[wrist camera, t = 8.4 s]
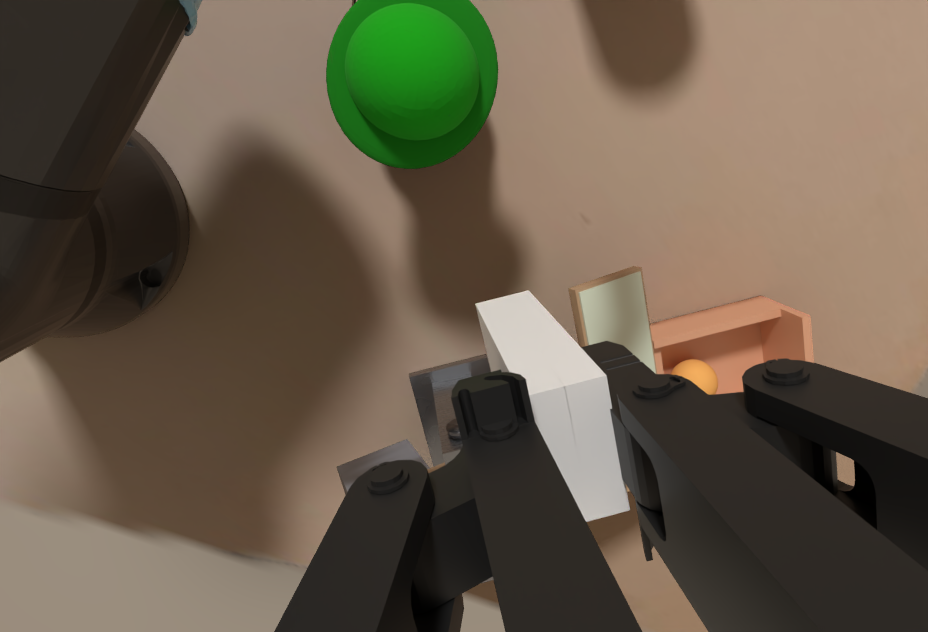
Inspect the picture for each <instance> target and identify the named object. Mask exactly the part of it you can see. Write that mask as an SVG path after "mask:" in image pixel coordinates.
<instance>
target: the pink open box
mask: <svg viewBox="0 0 928 632" xmlns="http://www.w3.org/2000/svg"><path fill="white" fill-rule="evenodd" d="M650 328H651V335H652V342H653V348H654V355H655V362H656V368H657V374H671V372H672V370H673V369H674V367H675V366H676V365H677V364H679V363H680V362H682V361H685V360H690V359H695V360H700V361H703V362H705V363H707V364H708V365H710V366H711V367H712V368H713V370H714V371H715V373H716V375H717V378H718V388H717V392H716V394H725V393H736V392H744V391H743V382H742V376H743V374H744V373H745V371H746V370H747V369H749V368H751V367H753V366H754V365H757V364H761V363H764V362H766V361H768V360H773V359H776V360H778V359H783V358H787V359H790V360H802V361H807V362H812V363H814V358H813V345H812V331H811V317H810V315H807V314H805V313H803V312H800V311H798V310H795V309H793V308H790V307H788V306H786V305H783V304H781V303H778V302H776V301H773V300H771V299H768V298H766V297H764V296H757V297H753V298H750V299H746V300H742V301H738V302H734V303H730V304H726V305H722V306H718V307H714V308H710V309H706V310H702V311H698V312H695V313H691V314H687V315H683V316H679V317H675V318H671V319H667V320H663V321H659V322H655V323H651V324H650Z"/></svg>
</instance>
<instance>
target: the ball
mask: <svg viewBox="0 0 928 632" xmlns="http://www.w3.org/2000/svg"><path fill="white" fill-rule="evenodd" d="M671 374H672V375H678V376H682V377H684V378H686V379H688V380H690V381H692V382H693V383H694V384H696V385H697V386H698V387H699V388H700V389H702V390H703V391H704V392H705V393H707V394H708V395H711V394H716V392H717V388H718V378H717V375H716V373H715V371H714V370H713V368H712V367H711V366H710V365H708V364H707V363H705V362H703V361H700V360H695V359H690V360H685V361H682V362H680V363H679V364H677V365H676V366H675V367H674V369H673V370H672V372H671Z"/></svg>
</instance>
